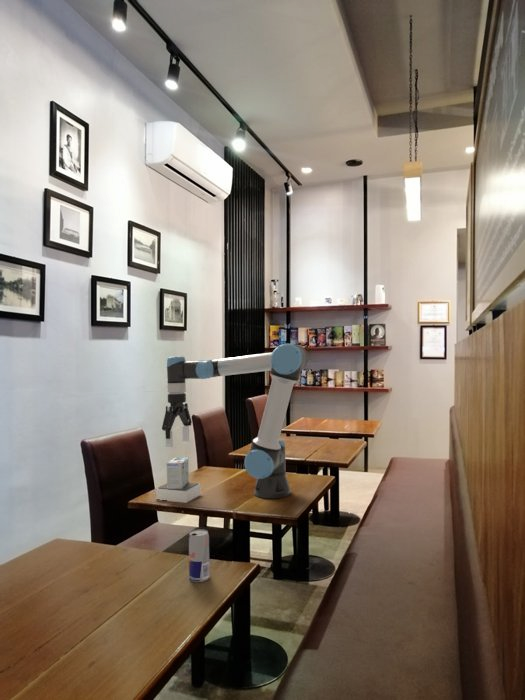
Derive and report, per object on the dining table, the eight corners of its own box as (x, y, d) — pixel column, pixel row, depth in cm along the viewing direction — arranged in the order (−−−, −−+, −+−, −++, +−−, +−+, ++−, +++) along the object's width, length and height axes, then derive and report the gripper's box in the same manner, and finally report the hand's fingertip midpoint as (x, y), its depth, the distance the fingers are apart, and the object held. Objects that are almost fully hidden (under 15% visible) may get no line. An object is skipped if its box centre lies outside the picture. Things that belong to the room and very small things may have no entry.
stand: (200, 494, 213) (200, 483, 213) (186, 502, 202) (186, 490, 202) (171, 492, 218) (171, 480, 218) (156, 499, 207) (156, 487, 207)
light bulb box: (174, 482, 215) (173, 457, 216) (189, 482, 215) (188, 457, 215) (166, 488, 205) (166, 462, 205) (182, 489, 204) (182, 462, 204)
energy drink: (187, 576, 134) (186, 531, 134) (206, 572, 136) (205, 528, 136) (192, 584, 129) (191, 537, 129) (212, 580, 131) (211, 534, 131)
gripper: (183, 391, 224) (184, 438, 223) (152, 395, 200) (153, 448, 200) (198, 391, 221) (199, 439, 221) (168, 395, 198) (169, 449, 197)
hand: (177, 443), depth 210 cm, fingers open, 13 cm apart
